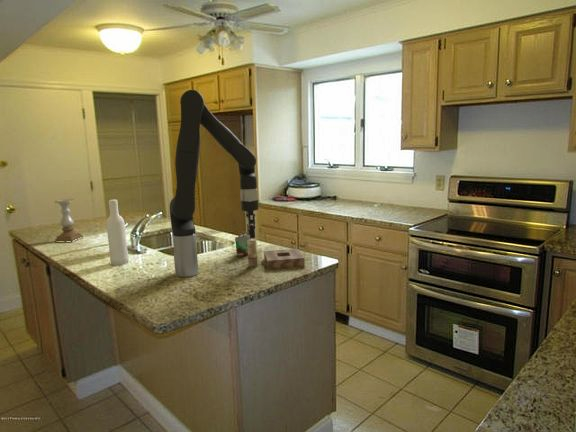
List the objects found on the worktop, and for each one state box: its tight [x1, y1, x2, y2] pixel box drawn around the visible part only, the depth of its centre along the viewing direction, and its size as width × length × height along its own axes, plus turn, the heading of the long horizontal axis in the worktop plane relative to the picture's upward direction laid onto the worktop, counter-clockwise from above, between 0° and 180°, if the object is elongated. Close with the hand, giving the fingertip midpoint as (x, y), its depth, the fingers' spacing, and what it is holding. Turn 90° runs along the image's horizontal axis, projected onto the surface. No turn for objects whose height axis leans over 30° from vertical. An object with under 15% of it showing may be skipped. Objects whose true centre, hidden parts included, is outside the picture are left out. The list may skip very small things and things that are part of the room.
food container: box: [234, 231, 252, 258], centre depth 202 cm, size 12×6×10 cm, turn 168°
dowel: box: [247, 238, 259, 269], centre depth 181 cm, size 4×4×12 cm
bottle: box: [105, 199, 129, 266], centre depth 191 cm, size 8×8×30 cm
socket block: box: [263, 248, 305, 271], centre depth 186 cm, size 16×16×4 cm
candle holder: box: [53, 198, 84, 242], centre depth 242 cm, size 11×11×24 cm
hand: (251, 235), depth 180 cm, fingers open, 8 cm apart
